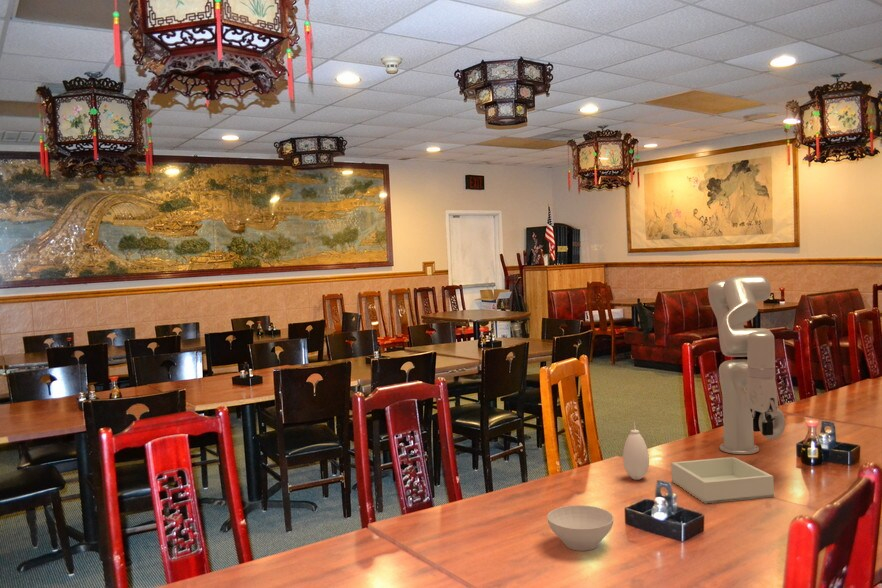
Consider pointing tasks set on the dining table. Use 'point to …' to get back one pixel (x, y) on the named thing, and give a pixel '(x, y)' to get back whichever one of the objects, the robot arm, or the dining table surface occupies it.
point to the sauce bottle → (635, 455)
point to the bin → (722, 480)
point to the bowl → (580, 525)
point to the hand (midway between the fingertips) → (763, 432)
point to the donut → (775, 425)
